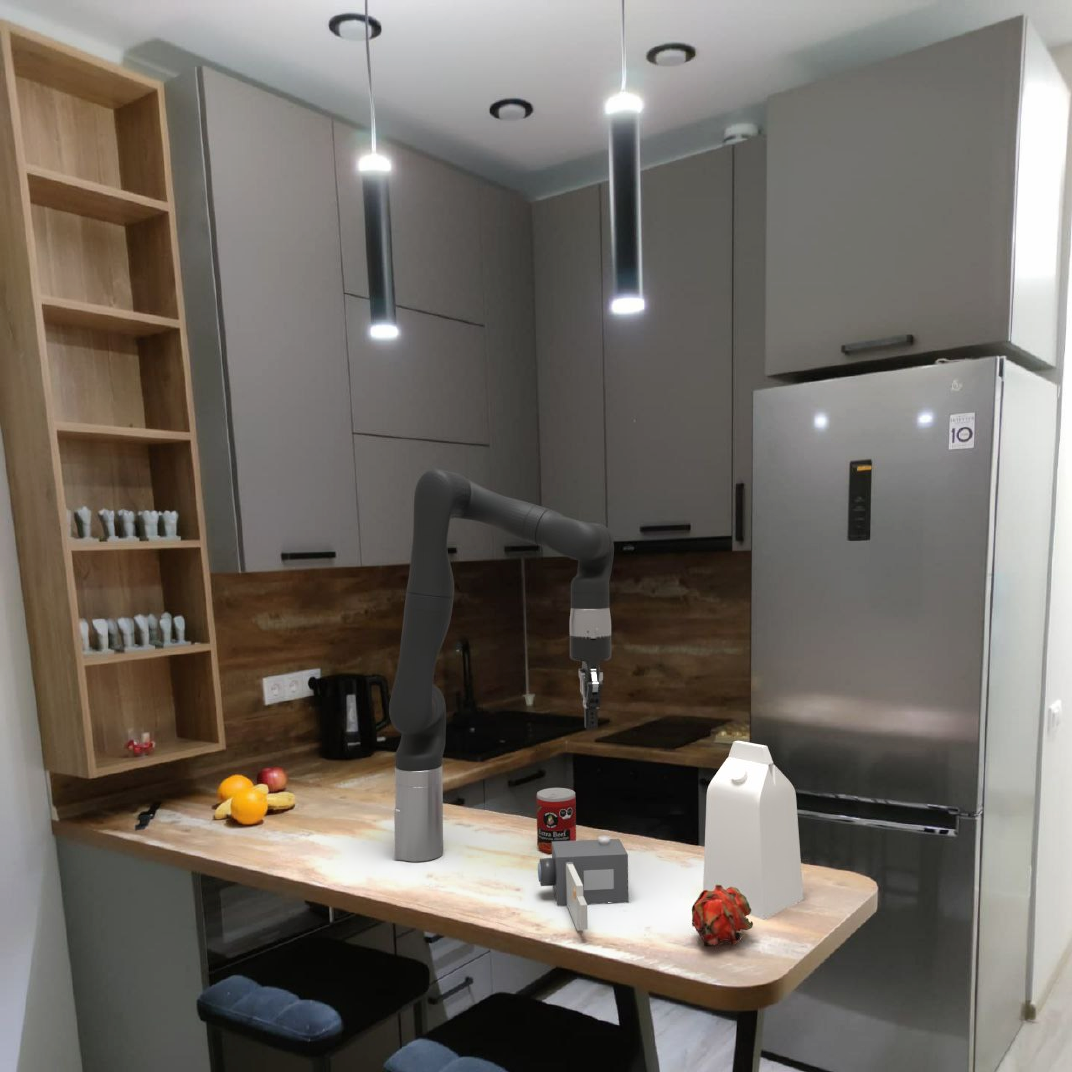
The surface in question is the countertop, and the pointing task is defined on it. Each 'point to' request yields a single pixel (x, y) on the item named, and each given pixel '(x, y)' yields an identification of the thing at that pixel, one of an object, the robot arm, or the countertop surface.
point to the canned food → (555, 817)
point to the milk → (753, 831)
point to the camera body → (588, 869)
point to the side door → (575, 898)
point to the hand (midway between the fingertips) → (591, 728)
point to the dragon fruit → (721, 915)
